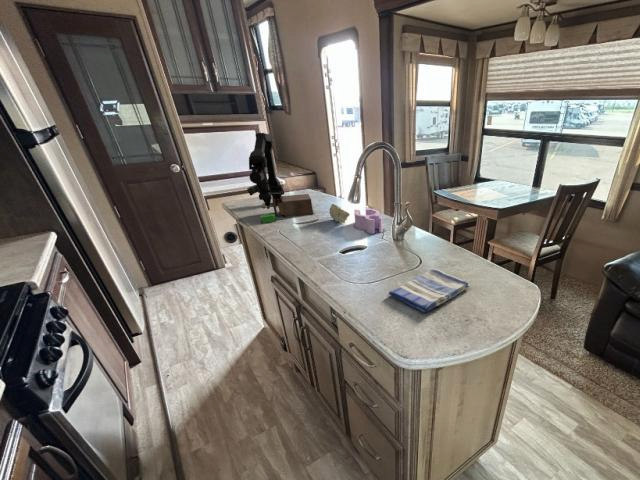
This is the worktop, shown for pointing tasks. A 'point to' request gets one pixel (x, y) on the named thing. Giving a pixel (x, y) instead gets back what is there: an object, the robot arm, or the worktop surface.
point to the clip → (369, 220)
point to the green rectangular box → (268, 218)
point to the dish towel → (429, 290)
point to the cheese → (338, 214)
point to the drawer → (275, 206)
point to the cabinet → (297, 205)
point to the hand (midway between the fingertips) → (268, 208)
